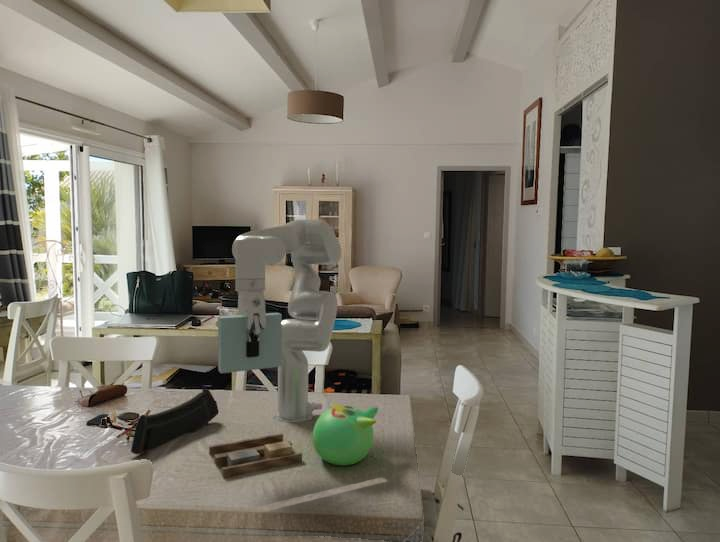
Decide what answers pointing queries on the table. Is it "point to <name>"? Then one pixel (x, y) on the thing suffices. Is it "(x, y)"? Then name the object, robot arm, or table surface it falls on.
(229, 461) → the offcut
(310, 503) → the table surface
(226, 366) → the panel
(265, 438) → the rack
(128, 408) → the table surface
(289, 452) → the offcut
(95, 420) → the phone
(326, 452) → the toy bird
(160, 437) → the magazine
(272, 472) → the table surface
